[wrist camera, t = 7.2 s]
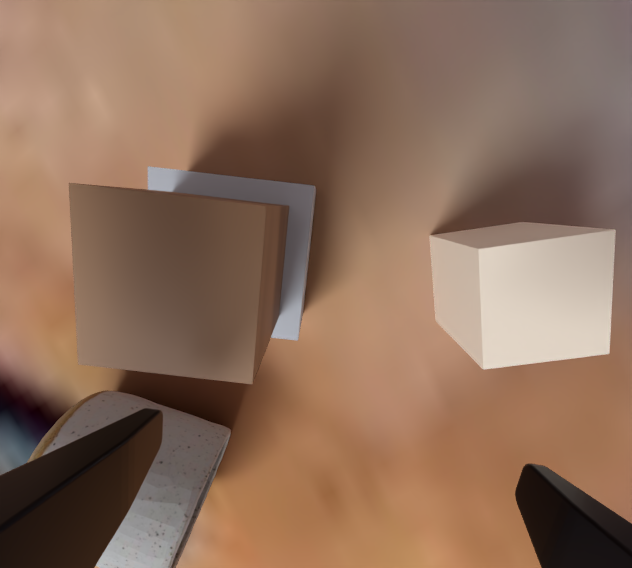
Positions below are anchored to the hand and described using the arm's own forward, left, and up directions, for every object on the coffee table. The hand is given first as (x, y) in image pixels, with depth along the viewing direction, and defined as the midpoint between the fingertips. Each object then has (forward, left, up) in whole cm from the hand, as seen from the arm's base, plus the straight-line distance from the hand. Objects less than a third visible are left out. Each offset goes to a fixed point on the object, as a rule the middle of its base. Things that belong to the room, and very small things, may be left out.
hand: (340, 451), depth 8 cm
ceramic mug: (+10, +11, -12) cm, 19 cm away
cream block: (-8, -3, -12) cm, 14 cm away
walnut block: (+5, -3, -8) cm, 10 cm away
